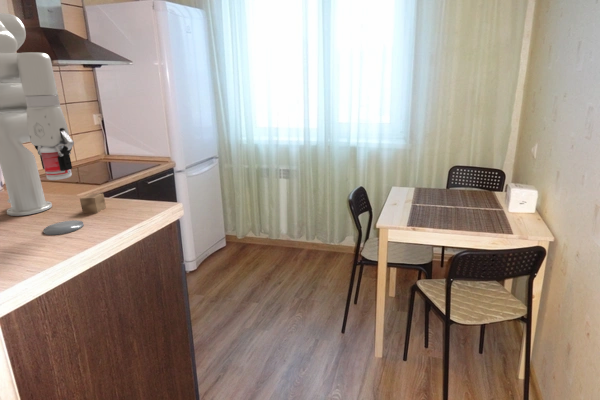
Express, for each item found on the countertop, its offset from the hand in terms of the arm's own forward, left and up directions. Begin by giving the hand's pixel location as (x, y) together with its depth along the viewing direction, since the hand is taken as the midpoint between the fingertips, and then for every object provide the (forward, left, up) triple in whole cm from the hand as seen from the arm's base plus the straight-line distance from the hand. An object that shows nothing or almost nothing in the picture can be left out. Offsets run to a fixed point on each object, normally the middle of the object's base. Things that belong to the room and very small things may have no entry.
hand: (57, 168), depth 111 cm
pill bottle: (0, 0, -3) cm, 3 cm away
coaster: (0, -2, -17) cm, 17 cm away
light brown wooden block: (-6, +13, -17) cm, 23 cm away
